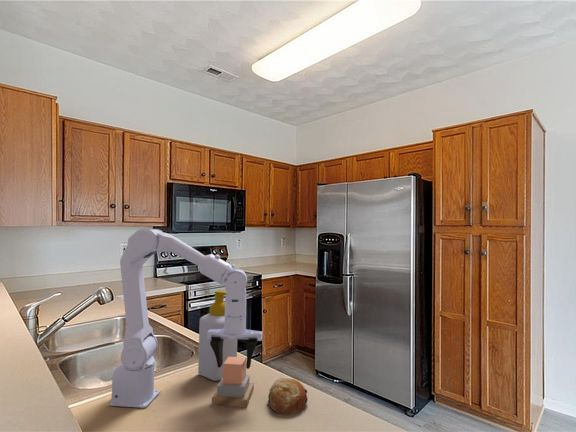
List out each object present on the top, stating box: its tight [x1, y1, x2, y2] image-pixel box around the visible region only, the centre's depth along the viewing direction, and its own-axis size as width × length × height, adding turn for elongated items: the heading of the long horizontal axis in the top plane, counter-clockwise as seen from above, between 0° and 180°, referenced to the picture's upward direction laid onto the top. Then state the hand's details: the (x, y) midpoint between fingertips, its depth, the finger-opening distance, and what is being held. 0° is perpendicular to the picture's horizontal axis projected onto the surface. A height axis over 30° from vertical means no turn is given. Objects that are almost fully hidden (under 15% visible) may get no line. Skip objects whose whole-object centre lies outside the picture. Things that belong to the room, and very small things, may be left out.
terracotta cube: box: [223, 356, 247, 384], centre depth 87 cm, size 5×5×5 cm
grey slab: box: [216, 374, 250, 397], centre depth 87 cm, size 7×7×2 cm
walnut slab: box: [211, 382, 255, 408], centre depth 87 cm, size 9×9×2 cm
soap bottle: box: [197, 289, 238, 382], centre depth 101 cm, size 9×9×25 cm
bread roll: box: [267, 377, 308, 415], centre depth 84 cm, size 10×10×8 cm
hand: (234, 366), depth 87 cm, fingers open, 7 cm apart
